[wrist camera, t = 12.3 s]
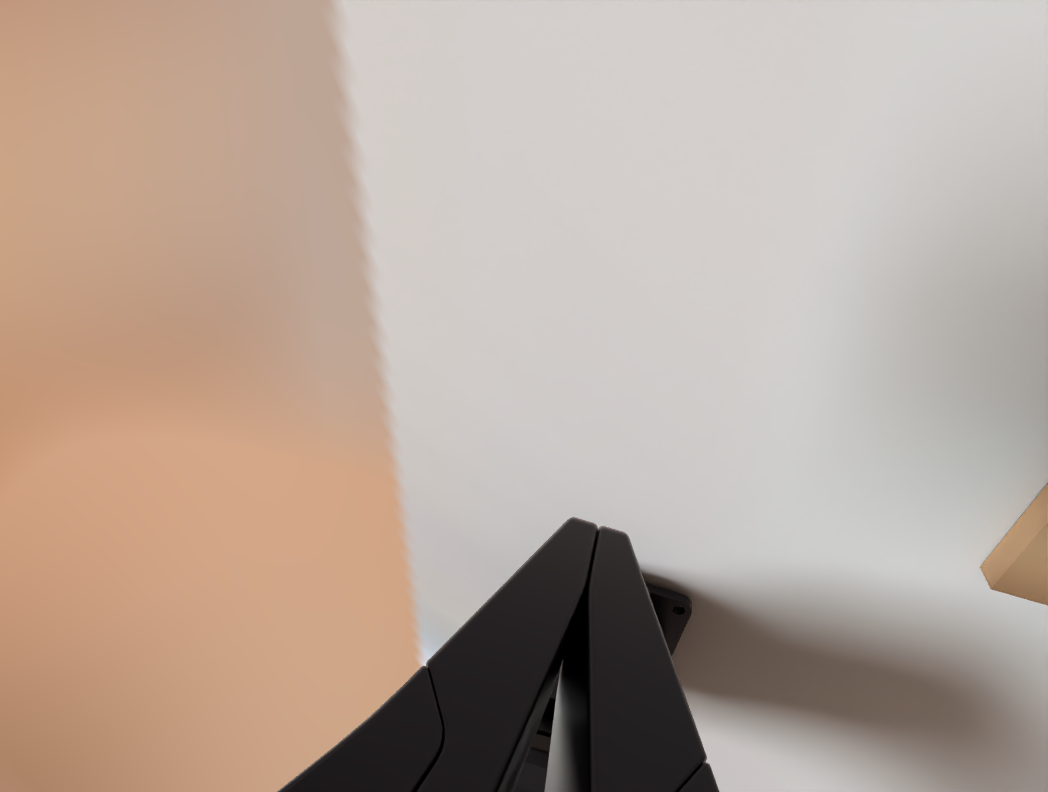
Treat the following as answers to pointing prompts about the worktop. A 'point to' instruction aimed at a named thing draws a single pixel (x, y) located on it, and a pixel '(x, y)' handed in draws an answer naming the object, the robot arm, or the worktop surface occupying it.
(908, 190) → the worktop surface
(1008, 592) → the tan base with block
